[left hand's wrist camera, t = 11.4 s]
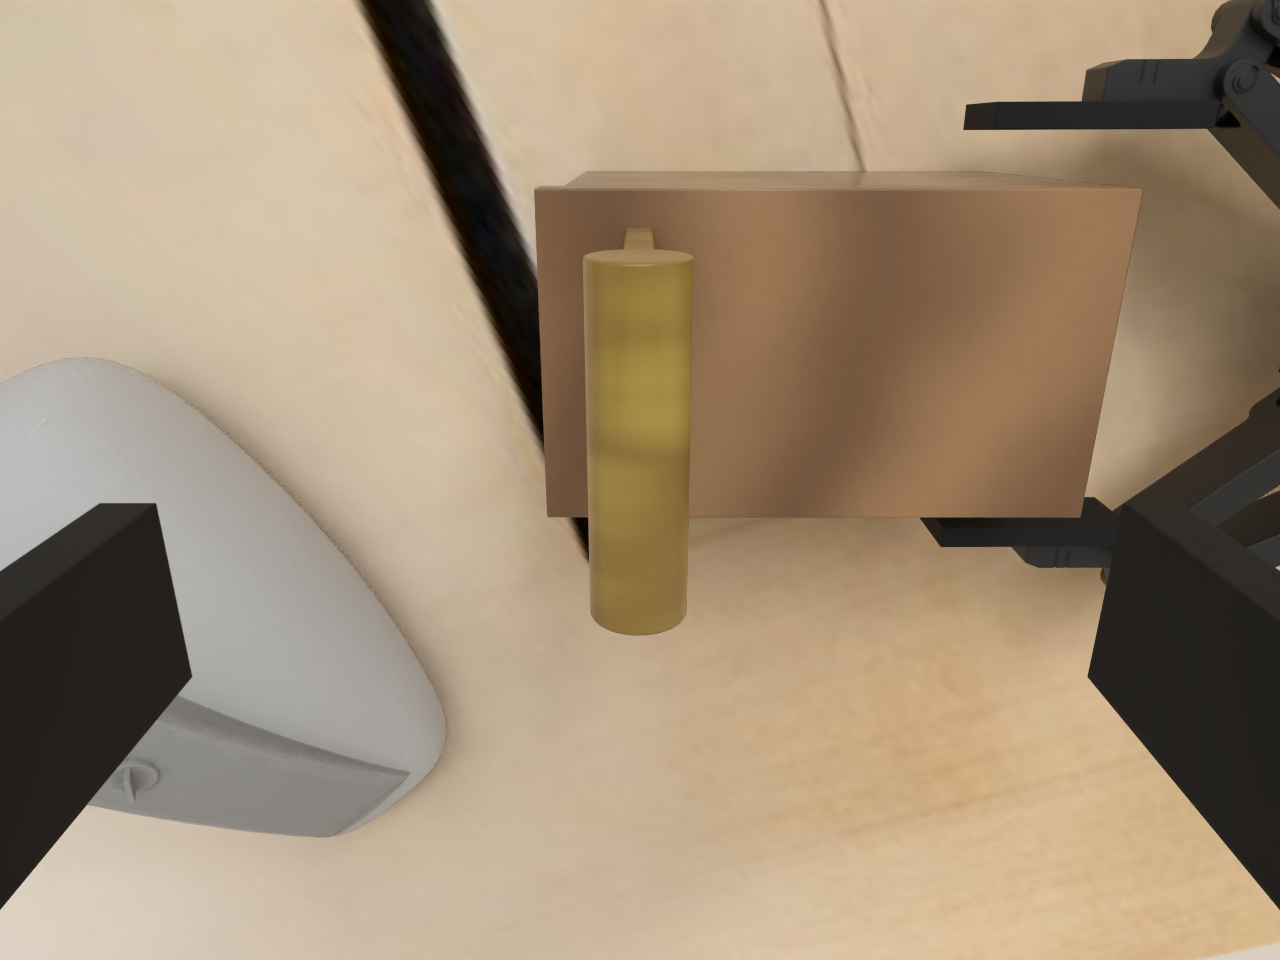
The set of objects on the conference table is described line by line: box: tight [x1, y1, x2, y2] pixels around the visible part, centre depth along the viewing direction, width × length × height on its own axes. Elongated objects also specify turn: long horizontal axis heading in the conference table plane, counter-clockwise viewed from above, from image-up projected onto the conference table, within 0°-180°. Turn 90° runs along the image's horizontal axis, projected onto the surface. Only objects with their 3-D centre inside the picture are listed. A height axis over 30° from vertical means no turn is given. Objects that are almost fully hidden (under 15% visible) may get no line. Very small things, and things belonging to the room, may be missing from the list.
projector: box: [0, 357, 446, 837], centre depth 34 cm, size 22×23×15 cm
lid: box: [534, 186, 1143, 635], centre depth 22 cm, size 16×9×10 cm, turn 90°
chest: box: [565, 172, 1113, 186], centre depth 31 cm, size 15×9×10 cm, turn 90°
